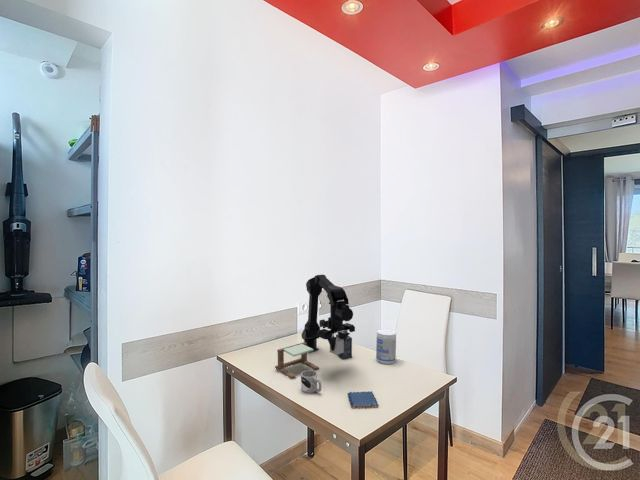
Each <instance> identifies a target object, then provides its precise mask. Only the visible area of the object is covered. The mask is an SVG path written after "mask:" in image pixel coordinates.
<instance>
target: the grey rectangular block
mask: <svg viewBox="0 0 640 480" xmlns="http://www.w3.org/2000/svg"><path fill="white" fill-rule="evenodd" d="M335 337H336V336H335ZM329 353H331V354H334V355H335V356H338V354H341V353H344V340H343V339H341V338H338V337H336V342H335V348H334V351H332V350H331V347H330V346H329Z"/></svg>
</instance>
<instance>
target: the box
mask: <svg viewBox="0 0 640 480" xmlns="http://www.w3.org/2000/svg"><path fill="white" fill-rule="evenodd" d="M335 337H338V338H339V335H338V333H336V334H335ZM337 356H338V357H339V358H341V359H342V360H345V359H352V357H353V338H352V337H351V336H350V335H348V337H347V338H346V340H345V342H344V353H341V354H338V355H337Z"/></svg>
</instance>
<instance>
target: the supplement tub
mask: <svg viewBox="0 0 640 480" xmlns="http://www.w3.org/2000/svg"><path fill="white" fill-rule="evenodd" d="M375 350H376V351H375V352H376V355H375V359H376V361H377V362H378V363H380V364H384V365H392V364H394V363H396V358H397V357H396V356H397V355H396V354H397V332H396V331H395V330H392V329H388V328H386V329H384V328H383V329H379V330H377V331H376V349H375Z"/></svg>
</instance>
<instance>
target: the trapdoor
mask: <svg viewBox="0 0 640 480" xmlns="http://www.w3.org/2000/svg"><path fill="white" fill-rule="evenodd" d="M299 344H300V343H299ZM295 345H296V344H295ZM291 346H292V347H289V346H288V347H289V348H286V347H284V348H285V349H283V350H284V353H286V354H288V355H290V356H292V357H297V356H301V354H304V353H307V354H308V353H311V351H312V352H314V351H313V349H312V348H310V347H308V346H306V345H303V344H300V345H296V346H293V345H291Z"/></svg>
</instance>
